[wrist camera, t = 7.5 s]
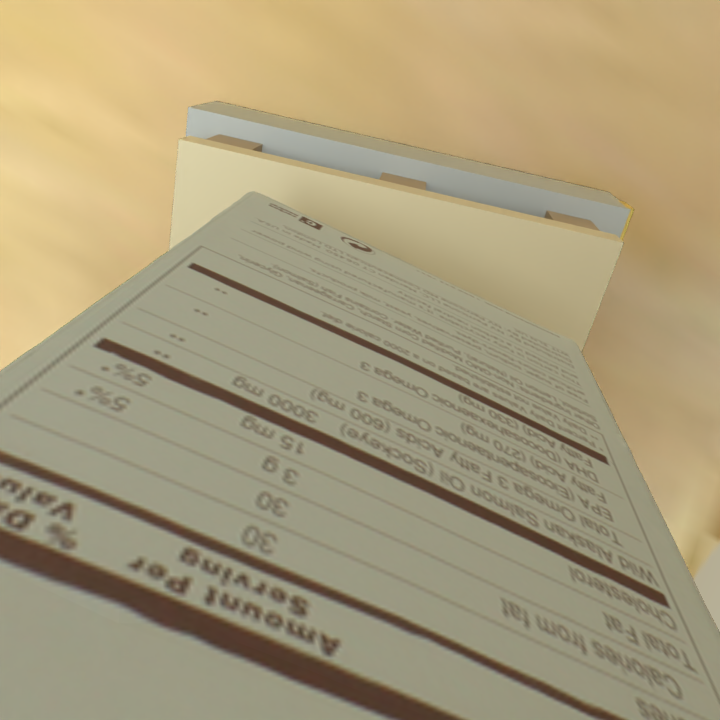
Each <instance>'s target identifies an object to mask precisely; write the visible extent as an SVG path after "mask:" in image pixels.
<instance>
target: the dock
mask: <svg viewBox="0 0 720 720" xmlns="http://www.w3.org/2000/svg"><path fill="white" fill-rule="evenodd" d="M252 191H255V192H257V193H260V194H263V195H265V196H267V197H269V198H271V199H273V200H276V201H278V202H280V203H282V204H284V205H286V206H288V207H290V208H292V209H295V210H297V211H299V212H301V213H303V214H305V215H307V216H309V217H311V218H313V219H316V220H318V221H321V222H323V223H325V224H327V225H329V226H331V227H333V228H335V229H337V230H339V231H342V232H344V233H346V234H348V235H350V236H352V237H354V238H356V239H358V240H361V241H363V242H365V243H367V244H369V245H371V246H373V247H375V248H377V249H379V250H381V251H384V252H386V253H388V254H390V255H392V256H394V257H396V258H399V259H401V260H403V261H405V262H407V263H409V264H411V265H413V266H415V267H417V268H419V269H422V270H424V271H426V272H428V273H430V274H433V275H435V276H437V277H438V278H440V279H442V280H444V281H446V282H449V283H451V284H453V285H455V286H457V287H459V288H461V289H463V290H465V291H468V292H470V293H472V294H474V295H477V296H479V297H481V298H483V299H485V300H487V301H489V302H491V303H493V304H495V305H497V306H500V307H502V308H504V309H506V310H508V311H510V312H513V313H515V314H517V315H519V316H521V317H523V318H525V319H527V320H529V321H531V322H533V323H535V324H538V325H540V326H542V327H544V328H546V329H548V330H551V331H553V332H555V333H557V334H560V335H562V336H565V337H567V338H569V339H572V340H573V341H574V342H575V343H576V344H577V345H578V347H579V349H580V351H581V352H582V350H583V348H584V345H585V343H586V340H587V337H588V335H589V332H590V330H591V327H592V324H593V322H594V319H595V317H596V314H597V312H598V309H599V306H600V304H601V301H602V299H603V296H604V293H605V291H606V288H607V286H608V283H609V280H610V278H611V275H612V273H613V270H614V268H615V265H616V262H617V260H618V257H619V255H620V252H621V249H622V247H623V244H624V242H623V241H622V240H623V237H624V235H625V232H626V230H627V227H628V224H629V222H630V219H631V217H632V214H633V211H634V209H633V208H632V207H630V206H629V205H628V204H627V203H625V202H623V201H619V200H618V199H617V198H616V197H614V196H613V195H612V194H611V193H609V192H606V191H602V190H597V189H593V188H589V187H585V186H580V185H576V184H572V183H567V182H563V181H559V180H554V179H550V178H546V177H541V176H537V175H533V174H529V173H524V172H520V171H516V170H511V169H507V168H503V167H498V166H494V165H490V164H486V163H481V162H477V161H473V160H468V159H464V158H460V157H455V156H451V155H447V154H442V153H438V152H434V151H430V150H425V149H421V148H417V147H412V146H408V145H404V144H399V143H395V142H391V141H386V140H382V139H378V138H374V137H369V136H365V135H361V134H356V133H352V132H348V131H343V130H339V129H335V128H330V127H326V126H322V125H318V124H313V123H309V122H305V121H300V120H296V119H292V118H287V117H283V116H279V115H274V114H270V113H266V112H262V111H257V110H253V109H249V108H244V107H240V106H236V105H231V104H227V103H223V102H218V101H214V102H210V103H205V104H200V105H196V106H191V107H188V117H187V128H186V137H184V138H181V139H179V142H178V153H177V165H176V176H175V188H174V199H173V210H172V222H171V233H170V245H169V250H170V249H172V248H173V247H174V246H176V245H177V244H178V243H180V242H181V241H183V240H184V239H186V238H187V237H189V236H190V235H192V234H193V233H194V232H196V231H197V230H198V229H200V228H201V227H202V226H204V225H205V224H206V223H208V222H209V221H210V220H211V219H212V218H214V217H215V216H216V215H218V214H219V213H221V212H222V211H223V210H225V209H227V208H228V207H230V206H231V205H232V204H233V203H235V202H236V201H238V200H239V199H241V198H242V197H243V196H244V195H245V194H247V193H249V192H252Z"/></svg>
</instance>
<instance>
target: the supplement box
mask: <svg viewBox="0 0 720 720" xmlns="http://www.w3.org/2000/svg"><path fill="white" fill-rule="evenodd" d="M0 720H720V632H719V630H718V628H717V626H716V624H715V622H714V620H713V618H712V616H711V614H710V612H709V611H708V609H707V607H706V605H705V603H704V601H703V599H702V597H701V595H700V592H699V590H698V588H697V586H696V584H695V582H694V580H693V578H692V576H691V574H690V572H689V570H688V568H687V566H686V564H685V562H684V560H683V558H682V556H681V554H680V552H679V549H678V547H677V545H676V543H675V541H674V539H673V537H672V535H671V533H670V531H669V529H668V527H667V525H666V523H665V521H664V519H663V517H662V514H661V512H660V510H659V508H658V506H657V504H656V502H655V500H654V498H653V496H652V494H651V492H650V490H649V488H648V486H647V484H646V482H645V480H644V478H643V476H642V474H641V472H640V470H639V468H638V467H637V465H636V463H635V460H634V458H633V455H632V453H631V450H630V449H629V447H628V445H627V443H626V441H625V440H624V438H623V436H622V434H621V432H620V429H619V427H618V425H617V423H616V421H615V419H614V417H613V415H612V413H611V411H610V409H609V406H608V404H607V402H606V400H605V398H604V396H603V394H602V392H601V390H600V388H599V386H598V384H597V382H596V380H595V378H594V376H593V374H592V372H591V370H590V368H589V366H588V364H587V362H586V360H585V358H584V356H583V354H582V352H581V351H580V349H579V347H578V345H577V344H576V343H575V342H574V341H573V340H572V339H569V338H567V337H565V336H562V335H560V334H557V333H555V332H553V331H551V330H548V329H546V328H544V327H542V326H540V325H538V324H535V323H533V322H531V321H529V320H527V319H525V318H523V317H521V316H519V315H517V314H515V313H513V312H510V311H508V310H506V309H504V308H502V307H500V306H497V305H495V304H493V303H491V302H489V301H487V300H485V299H483V298H481V297H479V296H477V295H474V294H472V293H470V292H468V291H465V290H463V289H461V288H459V287H457V286H455V285H453V284H451V283H449V282H446V281H444V280H442V279H440V278H438V277H437V276H435V275H433V274H430V273H428V272H426V271H424V270H422V269H419V268H417V267H415V266H413V265H411V264H409V263H407V262H405V261H403V260H401V259H399V258H396V257H394V256H392V255H390V254H388V253H386V252H384V251H381V250H379V249H377V248H375V247H373V246H371V245H369V244H367V243H365V242H363V241H361V240H358V239H356V238H354V237H352V236H350V235H348V234H346V233H344V232H342V231H339V230H337V229H335V228H333V227H331V226H329V225H327V224H325V223H323V222H321V221H318V220H316V219H313V218H311V217H309V216H307V215H305V214H303V213H301V212H299V211H297V210H295V209H292V208H290V207H288V206H286V205H284V204H282V203H280V202H278V201H276V200H273V199H271V198H269V197H267V196H265V195H263V194H260V193H257V192H255V191H252V192H249V193H247V194H245V195H244V196H243V197H242V198H241V199H239V200H238V201H236V202H235V203H233V204H232V205H231V206H230V207H228V208H227V209H225V210H223V211H222V212H221V213H219V214H218V215H216V216H215V217H214V218H212V219H211V220H210V221H209V222H208V223H206V224H205V225H204V226H202V227H201V228H200V229H198V230H197V231H196V232H194V233H193V234H192V235H190V236H189V237H187V238H186V239H184V240H183V241H181V242H180V243H178V244H177V245H176V246H174V247H173V248H172V249H170V250H169V251H168V252H166V253H165V254H163V255H162V256H160V257H159V258H157V259H156V260H155V261H153V262H152V263H151V264H150V265H148V266H147V267H146V268H144V269H143V270H141V271H140V272H139V273H137V274H136V275H134V276H133V277H131V278H130V279H129V280H127V281H126V282H124V283H123V284H122V285H120V286H119V287H117V288H116V289H115V290H113V291H112V292H110V293H109V294H107V295H106V296H104V297H103V298H101V299H100V300H99V301H97V302H96V303H94V304H93V305H92V306H90V307H89V308H88V309H86V310H85V311H84V312H82V313H81V314H80V315H78V316H77V317H75V318H74V319H73V320H71V321H70V322H69V323H67V324H66V325H64V326H63V327H62V328H60V329H59V330H57V331H56V332H55V333H53V334H52V335H51V336H49V337H48V338H47V339H45V340H44V341H42V342H41V343H40V344H38V345H37V346H35V347H33V348H32V349H30V350H29V351H27V352H26V353H24V354H23V355H22V356H20V357H19V358H17V359H16V360H15V361H13V362H12V363H11V364H9V365H8V366H7V367H5V368H4V369H2V370H1V371H0Z"/></svg>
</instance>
